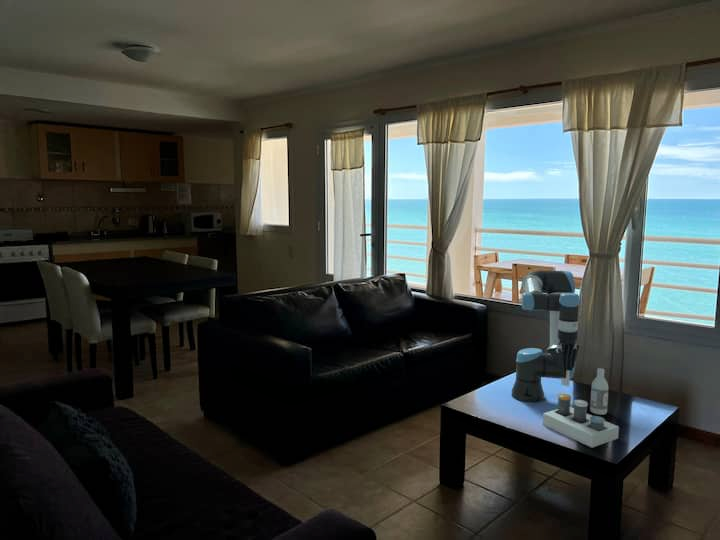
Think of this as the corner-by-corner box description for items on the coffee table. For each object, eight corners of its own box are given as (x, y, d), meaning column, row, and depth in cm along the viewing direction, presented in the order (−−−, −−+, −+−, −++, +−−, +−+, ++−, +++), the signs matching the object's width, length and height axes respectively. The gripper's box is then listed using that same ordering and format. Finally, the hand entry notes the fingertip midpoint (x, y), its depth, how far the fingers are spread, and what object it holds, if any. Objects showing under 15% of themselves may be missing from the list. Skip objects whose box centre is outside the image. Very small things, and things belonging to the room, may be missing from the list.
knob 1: (554, 413, 219) (555, 395, 218) (562, 410, 222) (563, 392, 221) (564, 417, 215) (565, 399, 214) (572, 414, 217) (573, 396, 216)
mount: (542, 424, 218) (543, 413, 218) (568, 416, 226) (568, 406, 225) (591, 447, 198) (592, 435, 197) (618, 438, 205) (618, 426, 205)
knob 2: (570, 419, 212) (571, 401, 211) (578, 417, 215) (579, 399, 214) (580, 424, 208) (581, 405, 207) (589, 421, 210) (590, 403, 209)
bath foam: (601, 416, 226) (603, 372, 224) (586, 411, 232) (589, 368, 230) (610, 412, 230) (612, 369, 228) (595, 407, 236) (598, 365, 233)
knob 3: (586, 436, 206) (587, 417, 205) (594, 433, 208) (595, 414, 207) (597, 441, 201) (599, 422, 200) (606, 438, 204) (607, 419, 203)
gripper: (564, 334, 207) (562, 390, 210) (586, 330, 213) (583, 385, 216) (549, 330, 213) (547, 384, 216) (570, 326, 220) (568, 379, 223)
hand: (565, 384), depth 216 cm, fingers closed
